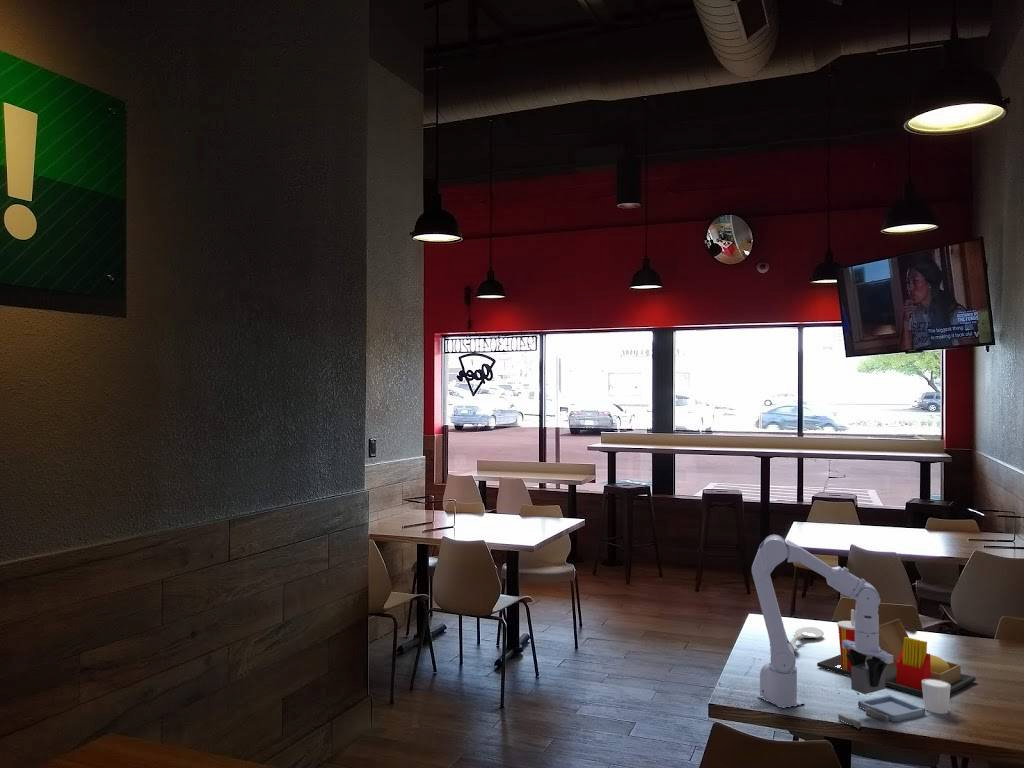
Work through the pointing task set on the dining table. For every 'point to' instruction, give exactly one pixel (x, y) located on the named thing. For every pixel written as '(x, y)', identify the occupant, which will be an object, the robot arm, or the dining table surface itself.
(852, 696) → the dining table surface
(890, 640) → the fast food meal
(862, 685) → the grey bar
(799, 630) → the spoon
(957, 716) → the dining table surface
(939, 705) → the white cup
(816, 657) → the dining table surface
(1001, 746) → the dining table surface
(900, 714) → the tray
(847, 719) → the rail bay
